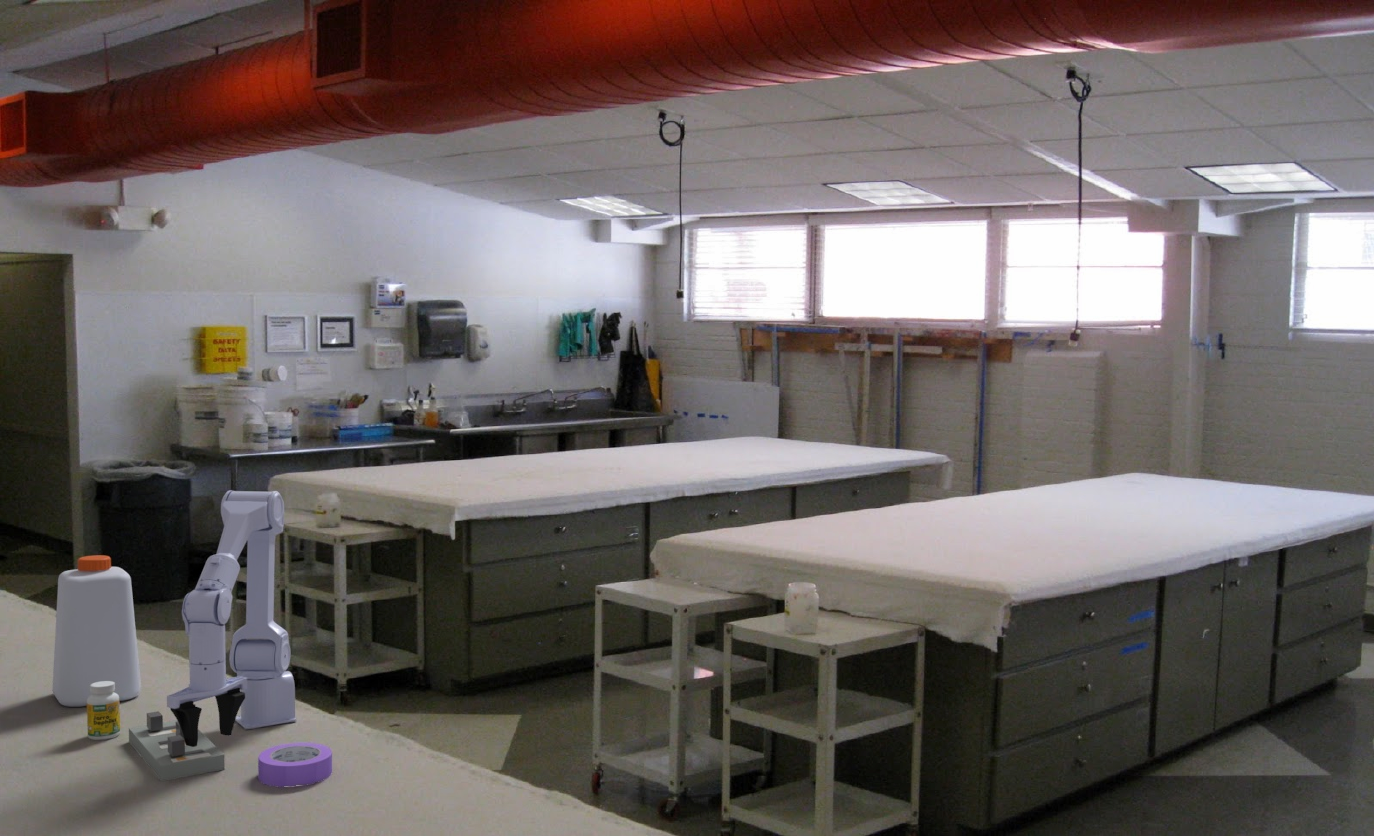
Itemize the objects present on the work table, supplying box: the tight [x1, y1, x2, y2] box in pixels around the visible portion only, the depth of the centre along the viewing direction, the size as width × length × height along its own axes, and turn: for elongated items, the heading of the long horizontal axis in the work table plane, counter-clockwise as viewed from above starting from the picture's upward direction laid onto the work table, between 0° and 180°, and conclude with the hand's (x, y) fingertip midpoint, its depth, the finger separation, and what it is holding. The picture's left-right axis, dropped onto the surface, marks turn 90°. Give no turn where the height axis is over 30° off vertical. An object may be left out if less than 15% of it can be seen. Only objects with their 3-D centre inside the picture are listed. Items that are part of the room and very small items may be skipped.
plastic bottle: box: [52, 554, 142, 708], centre depth 253 cm, size 15×15×28 cm
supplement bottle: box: [86, 681, 121, 741], centre depth 229 cm, size 5×5×10 cm
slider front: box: [168, 735, 185, 757], centre depth 211 cm, size 2×3×2 cm, turn 35°
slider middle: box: [176, 721, 185, 740], centre depth 220 cm, size 2×3×2 cm, turn 35°
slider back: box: [146, 710, 164, 731], centre depth 224 cm, size 2×3×2 cm, turn 35°
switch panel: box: [128, 719, 226, 782], centre depth 219 cm, size 10×24×3 cm, turn 35°
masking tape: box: [257, 742, 333, 788], centre depth 210 cm, size 12×12×4 cm
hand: (208, 739), depth 214 cm, fingers open, 6 cm apart
